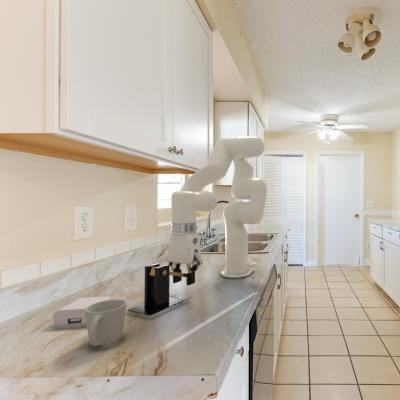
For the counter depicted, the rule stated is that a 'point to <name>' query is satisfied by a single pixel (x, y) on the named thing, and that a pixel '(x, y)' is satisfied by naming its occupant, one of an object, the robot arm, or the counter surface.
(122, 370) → the counter surface
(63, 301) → the counter surface
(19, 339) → the counter surface
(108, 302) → the cup
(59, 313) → the charger
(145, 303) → the bracket
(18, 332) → the counter surface
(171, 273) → the tap lever
